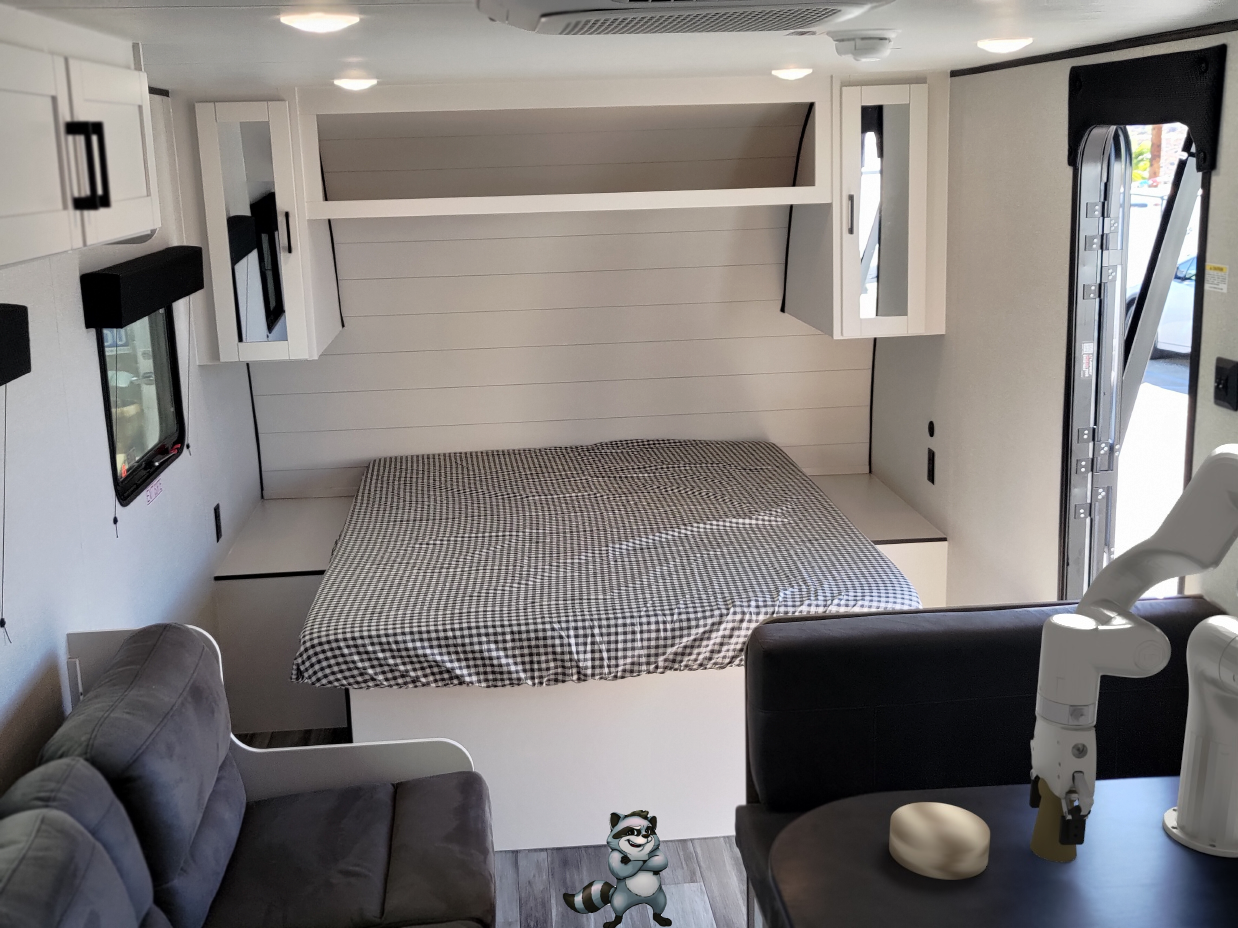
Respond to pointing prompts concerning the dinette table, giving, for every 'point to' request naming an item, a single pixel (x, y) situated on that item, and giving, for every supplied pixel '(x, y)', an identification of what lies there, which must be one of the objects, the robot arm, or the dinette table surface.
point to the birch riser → (939, 840)
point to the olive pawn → (1050, 827)
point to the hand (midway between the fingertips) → (1055, 824)
